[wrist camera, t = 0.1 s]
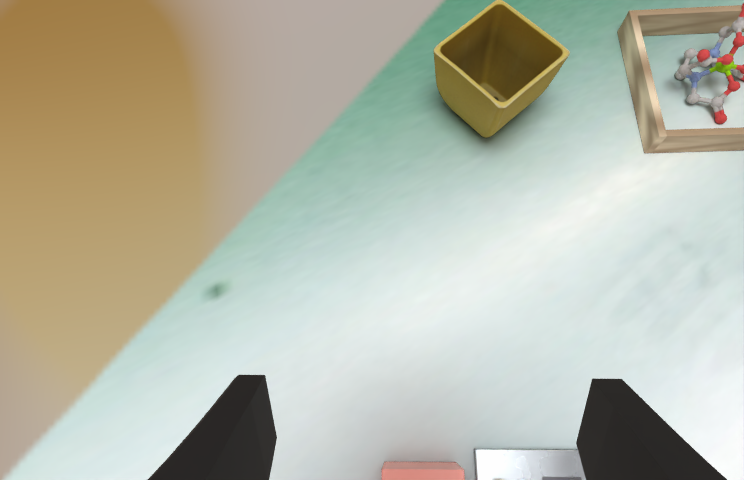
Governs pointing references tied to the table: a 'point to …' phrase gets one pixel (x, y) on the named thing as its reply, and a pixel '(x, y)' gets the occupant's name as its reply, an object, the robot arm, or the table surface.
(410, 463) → the cap
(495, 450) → the panel
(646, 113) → the wooden frame
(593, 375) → the table surface
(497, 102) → the flower pot
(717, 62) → the molecular model
